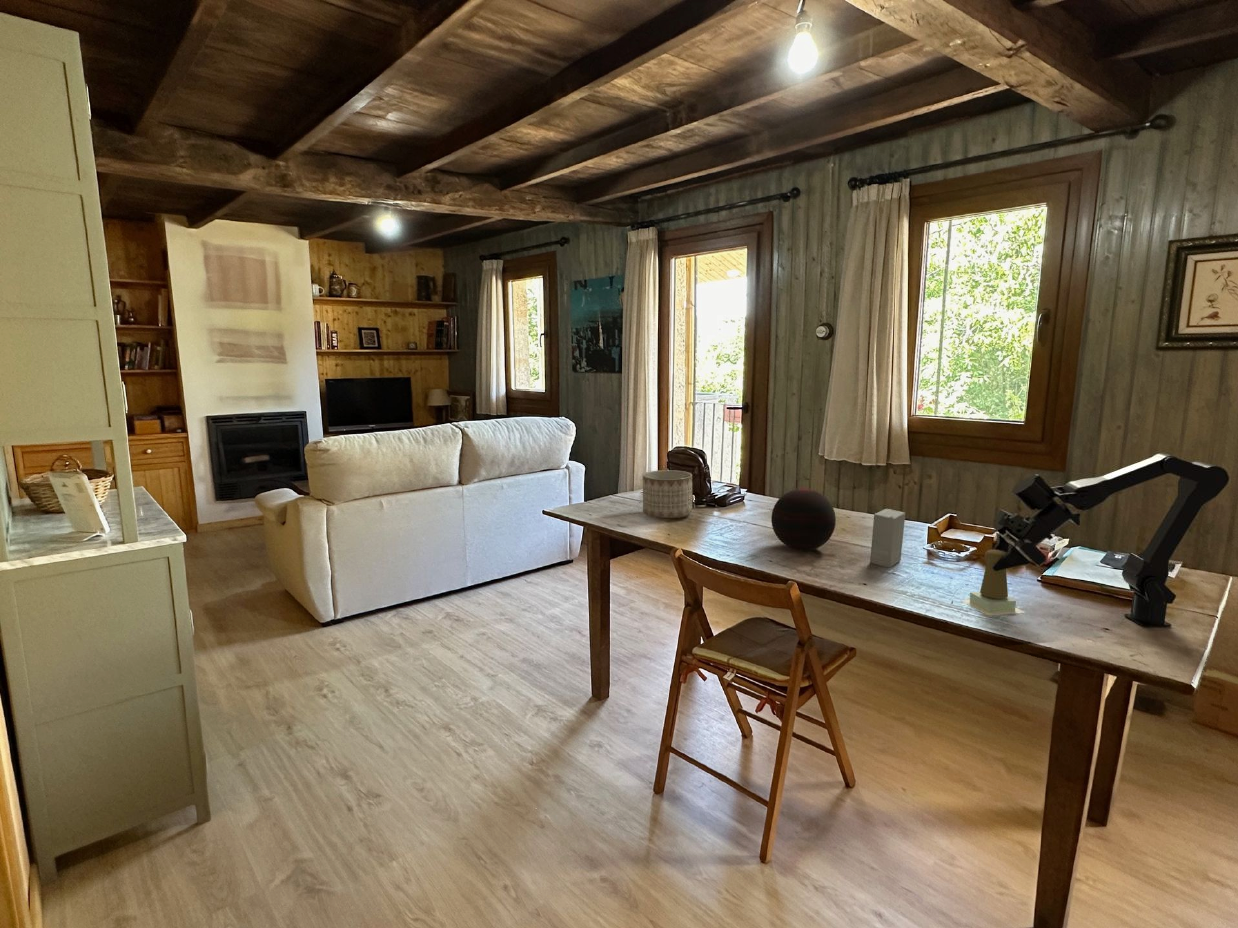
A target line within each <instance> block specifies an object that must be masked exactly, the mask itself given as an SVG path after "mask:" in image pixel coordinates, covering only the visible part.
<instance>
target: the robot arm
mask: <svg viewBox="0 0 1238 928" xmlns="http://www.w3.org/2000/svg"><path fill="white" fill-rule="evenodd" d="M1168 474H1172V475H1174V476H1177V477H1179V479H1178V481H1177V495H1176V498H1175V499H1174V501H1173V503H1172V505H1171V506H1170V508H1169V509H1168V511H1167V512H1166V514H1165V516H1164V518H1163V519H1162V521H1161V523H1160V524H1159V526H1158V527H1157V530H1156V531H1155V533H1153V536H1152V537H1151V540H1150V541H1149V543H1148V544H1147V546H1146V548H1145V549H1144V550H1143V551H1142V552H1140V553H1139V554H1134V553H1133V552H1131V553H1129V554H1128V557H1127V560H1126V562H1125V563H1124V564H1122V565H1121V568H1122V570H1121V571H1122V572H1121V576H1122V578H1123V581H1125V583H1126V584H1127V585H1128V588H1129V590H1131V591H1133V595H1132V599H1131V607H1130V613H1124V617H1125V618H1128V619H1129V620H1131V621H1133V622H1135V623H1137V624H1138V625H1140V626H1142V627H1156V628H1157V627H1172V623H1170V622H1169V621H1166V616H1167V615H1166V614H1167V608H1168V604H1169V605H1170V604H1171V605H1172V604H1173V602H1175V601H1174V600H1175V599H1176V598H1177V594H1175V593H1174V592H1173V591H1172V590H1171V589H1170V588H1169V587H1168V586H1167V585H1166V582H1167V580H1168V577H1169V575H1170V569H1169V568H1170V565H1169V564H1170V560H1171V558H1172V556H1173V555H1174V553H1175V552H1176V550H1177V548H1178V547H1179V545H1180V544H1181V542H1182V541H1183V539H1184V537H1185V535H1186V534H1187V533H1188V531H1189V529H1190V528H1191V525H1192V524H1193V522H1194V521H1195V519H1196V517H1197V516H1198V514H1199V513H1200V511H1201V509H1202V508H1203V506H1204V505H1206V504H1208V503H1209V502H1211V501H1212V500H1214V499H1215V498H1217V497H1218V496H1219V495H1220V494H1221V493H1222V491H1223V490H1224V489H1225V488H1226V487H1227V485H1228V484H1229V482H1230V476H1229V473H1228V471H1227V470H1226V469H1225V468H1223V467H1221V466H1217V465H1215V464H1211V463H1208V462H1203V461H1193V462H1191V461H1190V462H1189V461H1187V460H1185V459H1184V460H1183V459H1180V458H1178V457H1177V456H1174V455H1171V454H1167V453H1163V452H1162V453H1161V452H1160V453H1156V454H1155V455H1153V456H1152V457H1149V458H1147V459H1144V460H1141V461H1140V462H1136V463H1134V464H1131V465H1128V466H1125V467H1123V468H1120V469H1118V470H1115V471H1113V472H1110V473H1107V474H1105V475H1101V476H1097V477H1090V478H1081V479H1078V480H1071V481H1068V482H1067V483H1065V484H1064V485H1060V486H1052V487H1050V486H1049V485H1048V483H1046V482H1045V479H1044V478H1042V476H1041V475H1039V474H1037V473H1036V474H1033V475H1032V476H1030V477H1027V478H1025V479H1023V480H1020V481H1019V482H1017V484H1015V485H1014V486H1013V488H1012V490H1011V493H1012V494H1013V495H1014V496H1015V497H1016V498H1017V499H1018V500H1020V502H1022V504H1023V505H1024V506H1026V507H1027V508H1028V509H1029V510H1030V511H1034V510H1036V512H1035V513H1034V514H1033V515H1031V516H1030V515H1024V516H1023V515H1021V514H1018V513H1017V512H1014V513H1012V512H1011V513H1010V512H1008V511H1006V510H1004V509H1002V508H1000V509H999V510H998V512H997V513H996V515H995V516H994V518H993V521H994V522H996V523H997V524H996V525H995V526H993V529H994V530H995V531H996V533H995V535H996V543H995V544H994V546H993V548H992V549H991V550H1001V551H1004V552H1006V554H1005V555H1004V556H1003V557H1002V558H1001V559H1000V560H999V561H998V562H997V563H996V564H995V565H994V566H993V567H992V568H993V569H994V570H995V571H999V570H1003V569H1006V570H1007V569H1011V568H1014V567H1019V566H1025V565H1032V562H1033V563H1034V564H1035V565H1036V566H1037V567H1038V568H1039V567H1041V566H1042V565H1043V564H1045V563H1046V562H1047V555H1046V554H1045V553H1043V552H1042V551H1041V549H1040V548H1038V547H1037V546H1039V545H1040V544H1041V543H1043V542H1044V541H1045V540H1046V539H1048V540H1049V541H1051V540H1052V539H1054V536H1053V534H1054V533H1055V532H1057V531H1058V529H1060V528H1061V527H1063V526H1064V525H1066V524H1067V523H1068V522H1069V521H1070V522H1071V523H1073V524H1074V525H1076V526H1080V525H1081V520H1080V516H1081V513H1079V512H1078V511H1073V510H1071V508H1069V507H1068V506H1070V507H1072V508H1074V509H1076V510H1079V511H1084V512H1085V511H1088V510H1089V511H1090V510H1092V509H1093V508H1095V507H1098V506H1099V505H1101V504H1103V503H1104V502H1105V501H1106V500H1107V499H1109V498H1110V497H1111V496H1112V495H1114V494H1117V493H1119V492H1122V491H1124V490H1127V489H1130V488H1132V487H1135V486H1138V485H1140V484H1144V483H1146V482H1149V481H1151V480H1154V479H1157V478H1160V477H1162V476H1164V475H1168ZM1055 499H1056V500H1059V501H1060V502H1062V503H1058V502H1057V501H1056V500H1055ZM1066 504H1067V505H1068V506H1067V505H1066ZM1031 561H1032V562H1031ZM984 562H985V563H986V561H985V560H984Z"/></svg>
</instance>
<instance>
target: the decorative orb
mask: <svg viewBox="0 0 1238 928" xmlns="http://www.w3.org/2000/svg"><path fill="white" fill-rule="evenodd" d="M833 507H834V506H833V505H832V503H831V502H830V501H829V499H828V498H827V497H826V496H825V495H823V494H822V493H820V492H818V491H816V490H814V489H811V488H795V489H792V490H789V491H788V492H786V493H784V494H782V495H781V496H780V497H779V499H778V500H777V501H776V503H775V504H774V506H773V508H772V512H771V516H770V517H771V526H772V529H773V532H774V534H775V536H776V537H777V539H778V540H779V541H780V542H781V543H782V544H783V545H784V546H786V547H788V548H791V549H793V550H796V551H802V552H803V551H804V552H806V551H807V552H808V551H813V550H816V549H819V548H820V547H822V546H824V544H826V543H827V542H828V541H829V540H830V539H831V537H832V536H833V533H834V531H835V528H836V522H837V521H836V520H837V519H836V517H837V516H836V513H835V509H834V508H833Z"/></svg>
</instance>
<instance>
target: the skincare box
mask: <svg viewBox="0 0 1238 928" xmlns="http://www.w3.org/2000/svg"><path fill="white" fill-rule="evenodd" d="M905 520H906V512H903V511H899V510H894V509H889V508H885V509H882V510H880V511H879V512H875V513H874V514H873V523H872V524H873V525H872V538H871V549H870V560H869V563H870V564H874V565H878V566H881V567H885V568H892V567H893V566H894V565H896V564H897V563H899V562H901V559H902V551H903V543H904V542H903V540H904V530H905V522H906V521H905Z"/></svg>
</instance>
